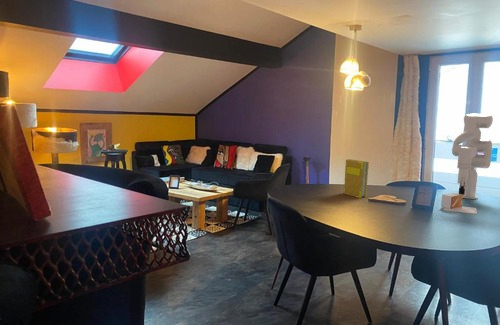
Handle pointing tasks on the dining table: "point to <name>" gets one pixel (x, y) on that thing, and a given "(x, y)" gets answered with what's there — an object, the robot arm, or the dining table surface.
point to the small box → (451, 200)
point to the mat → (462, 210)
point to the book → (356, 178)
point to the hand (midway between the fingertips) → (461, 194)
